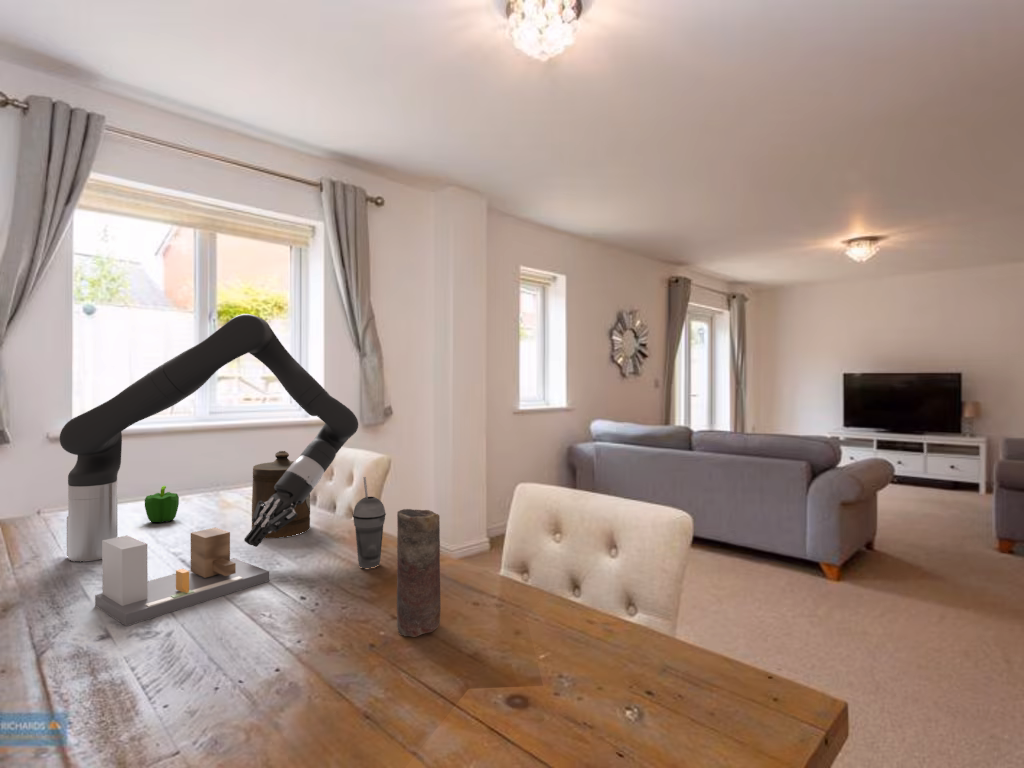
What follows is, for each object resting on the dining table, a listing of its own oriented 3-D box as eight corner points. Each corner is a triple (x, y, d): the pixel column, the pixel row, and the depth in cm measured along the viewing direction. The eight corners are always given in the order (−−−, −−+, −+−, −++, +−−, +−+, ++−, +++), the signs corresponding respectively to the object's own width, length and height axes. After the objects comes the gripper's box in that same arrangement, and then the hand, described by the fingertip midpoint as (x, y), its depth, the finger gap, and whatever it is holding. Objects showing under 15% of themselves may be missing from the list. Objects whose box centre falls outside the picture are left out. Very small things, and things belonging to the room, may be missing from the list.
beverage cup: (377, 572, 121) (377, 481, 121) (346, 570, 122) (346, 479, 122) (391, 561, 128) (391, 475, 128) (361, 559, 129) (362, 473, 129)
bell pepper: (167, 525, 158) (167, 490, 157) (138, 525, 158) (138, 489, 158) (185, 517, 166) (185, 484, 166) (158, 517, 166) (157, 484, 166)
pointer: (182, 587, 106) (182, 568, 106) (193, 592, 103) (193, 573, 103) (175, 589, 105) (175, 570, 105) (186, 594, 103) (186, 575, 102)
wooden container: (321, 528, 155) (321, 450, 155) (273, 542, 143) (273, 456, 142) (288, 521, 163) (288, 446, 163) (240, 533, 151) (240, 451, 150)
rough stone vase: (399, 619, 98) (399, 506, 98) (441, 618, 99) (441, 505, 98) (394, 639, 90) (394, 517, 90) (439, 638, 91) (439, 516, 91)
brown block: (215, 564, 118) (215, 527, 118) (242, 575, 112) (242, 536, 112) (190, 571, 114) (190, 532, 114) (217, 583, 108) (217, 542, 108)
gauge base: (234, 567, 124) (234, 513, 124) (269, 580, 116) (269, 523, 116) (95, 605, 103) (94, 541, 103) (126, 626, 95) (126, 555, 94)
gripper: (273, 466, 133) (221, 529, 123) (307, 473, 125) (255, 540, 115) (293, 485, 137) (245, 547, 128) (327, 492, 130) (278, 558, 120)
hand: (250, 543), depth 122 cm, fingers closed
